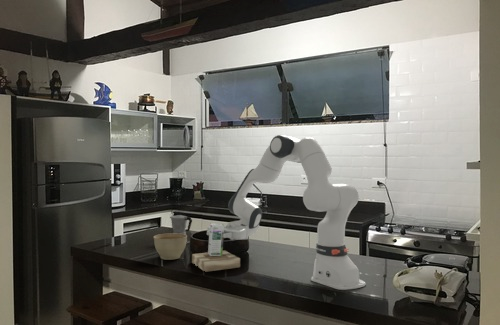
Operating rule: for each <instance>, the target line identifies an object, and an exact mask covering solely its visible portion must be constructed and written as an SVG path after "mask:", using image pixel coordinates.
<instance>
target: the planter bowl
mask: <svg viewBox="0 0 500 325" xmlns="http://www.w3.org/2000/svg"><path fill="white" fill-rule="evenodd" d="M186 239H187V240H188V235H187V234H186V235H185V234H177V233H173V232H172V233H171V232H170V233H162V234H161V233H160V234H156V235H154V236H153V240H154V241H153V242H154V247H155V250H156V252H157V253H158V255H159V256H160V259H162V260H163V261H164V260H169V261H170V260H178V259H180V258H181V255H182V254H183V252H184V251H185V248H186V245H187V243H186Z"/></svg>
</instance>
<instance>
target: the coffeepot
mask: <svg viewBox="0 0 500 325" xmlns="http://www.w3.org/2000/svg"><path fill="white" fill-rule="evenodd" d="M181 213H182V211H178V212H177V215H172V216H169V218H170V219H171V220H170V221H171V226H172V230H173V231H172V233H177V234H185V235H187V232H189V231H190V229H191V226H192V223H193V219H192V218H191V216H186V215H182V214H181ZM187 222H188V223H187ZM187 224H188V226H187ZM186 228H187V229H186ZM186 242H187V243H188V238H187V239H186Z"/></svg>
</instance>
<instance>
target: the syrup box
mask: <svg viewBox="0 0 500 325" xmlns="http://www.w3.org/2000/svg"><path fill="white" fill-rule="evenodd" d="M209 227H210V230H209V235H208V246H207V248H208V250H207V253H208V254H209V255H210V256H222V252H223V251H224V250H223V249H224V238H222V234H224V227H225V225H224V224H223V223H209Z"/></svg>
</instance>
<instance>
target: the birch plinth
mask: <svg viewBox="0 0 500 325" xmlns="http://www.w3.org/2000/svg"><path fill="white" fill-rule="evenodd" d="M191 263H192V264H193V265H194V264H195V265H194V266H196V267H197V266H198V268H199V269H200V270H202V271H203V272H204V271H205V272H206V273H207V272H213V271H214V272H215V271H221V270H229V269H231V270H232V269H236V268H238V269H239V268H241V258H240V257H239V256H237V255H235V254H232V253H231V252H228V251H227V250H223V252H222V256H210V255H209V254H208V252H202V253H201V252H200V253H192V254H191Z"/></svg>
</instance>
